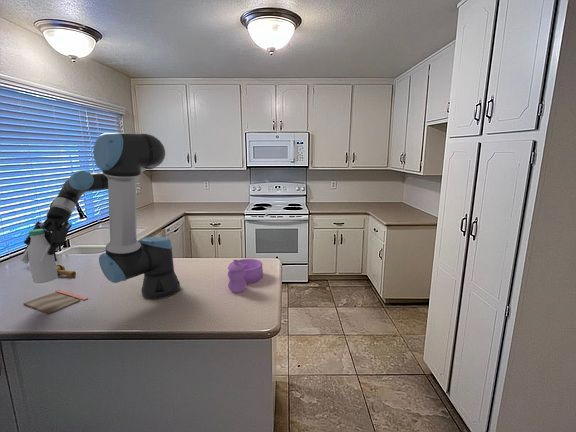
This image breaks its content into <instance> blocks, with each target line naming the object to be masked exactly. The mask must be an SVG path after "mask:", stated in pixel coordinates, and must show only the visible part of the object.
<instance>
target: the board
mask: <svg viewBox="0 0 576 432" xmlns="http://www.w3.org/2000/svg"><path fill="white" fill-rule="evenodd" d="M79 302H81V300H80V299H77V298H74V297H70V296H67V295H64V294H61V293H57V292H55V291H53V292H50V293H48V294H45V295H43V296H40V297H37V298H35V299H32V300H28V301H26V302H23V305H24V306H26V307H29V308H31V307H32V309H34V308H35V309H34V310H37V311H40V312H43V313H46V314H48V313H49V314H48V315H51V314H54V313H56V312H58V311H61V310H63V309H65V308H68V307H70V306H72V305H74V304H78V303H79ZM53 312H54V313H53Z"/></svg>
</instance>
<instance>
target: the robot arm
mask: <svg viewBox="0 0 576 432" xmlns="http://www.w3.org/2000/svg"><path fill="white" fill-rule="evenodd" d="M165 158H166V148H165V147H164V144H163V143H162V142H161V140H160V139H158V137H156V136H154V135H151V134H148V133H131V132H130V133H129V132H127V133H126V132H108V133H107V132H105V133H102V134H100V135H98V137H97V138H96V140H95V143H94V146H93V159H94V162H95V165H96V167H97V168H98V170H99V169H100V170H101V171H102V172H100V171H99V172H89V171H87V170H85V169H82V170H81V169H80V170H76V171H75V172H74V173H72V174H71V175H70V177H68V178H67V179H66V180H65V181H64V183H63V184H62V187H61V189H60V191H59V193H58V195H57V196H56V197H55V199H54V201H53V202H52V204H51V207H50V208H49V209H48V212H47V214H46V219H45V220H44V221H43V222H40V221H37V222H36V223H35V226H34V228H33V229H32V230H34V229H44V232H45V235H44V236H46V234H49V233H50V232H52V238H51V243H49V244H50V245H48V246H47V248H46V250H45V252H44V254H43V256H42V258H41V259H40V261H41V262H43V263H45V264H47V263H48V261H49V259H50V257H51V255H53V254H54V252H55V253H56V249H57V248H59V247H64V245H65V241H66V239H67V237H68V233H69V230H70V228H71V227H72V226H73V225H72V223H70V222H69V220H70V218H71V216H72V214H73V212H74V210H75V209H76V206H77V205H78V203H79V200H80V199H81V197H82V196H83V195H84V194H85V193H86V192H94V191H95V192H96V191H105V190H107V191H108V195H107V196H108V214H109V215H108V218H109V219H108V220H109V242H108V243H107V244H105V253H104V252H102V254H100V255H99V257H98V263H99V267H100V270H101V271H102V274H103V275H104V277H105V278H106V279H107V280H108V281H109V282H111V283H114V284H116V283H120V282H123V281H124V282H126V281H127V280H130V279H132V278H135V277H136V278H137V277H138V276H141V275H143V282H142V286H141V289H140V290H141V295H142V296H141V297H143V298H145V299H148V300H149V299H150V300H157V299H163V298H167V297H172V296H173V295H175V294H176V293H178V292H179V291H180V290H181V282H180V280H179V279H178V277H177V275H176V272H175V268H174V267H175V265H174V256H173V246H172V241H171V240H170V238H167V237H162V236H159V237H158V236H148V237H142V238H140V240H139V241H138V239H137V236H138V235H137V179H138V178H139V177H140V176H141V174H142V172H145V171H146V170H153V169H155V168H157V167H159V166H160V165H161V164H162V163H163V162H164V160H165ZM46 230H47V231H46ZM30 242H31V237H30V235H28V236H27V237H26V238H25V240H24V241H23V243H24V245H27V246H26V247H25V249H24V251H23V255H22V256H21V257H20V259H19V261H20V262H22V263H24V264H28V263H29V258H28V248H29V245H30Z"/></svg>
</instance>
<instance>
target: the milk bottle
mask: <svg viewBox="0 0 576 432" xmlns="http://www.w3.org/2000/svg"><path fill="white" fill-rule="evenodd" d="M33 229H34V228H33ZM33 229H31V230H29V231H28V234H29V235H30V237H31V242H30V245H29V248H28V258H29V262H28V263H29V269H30V272H31V278H32V282H33V283H35V284H44V283H48V282H51V281H55V280H56V279H57V278H58V276H59V274H57V269H56V266H57V265H56V261H55V258H54V254H53V255H51V257H50V259H49V261H48V263H47V264H45V263H43V262H41V261H40V259H41V258H42V256H43V254H44V252H45V250H46V248H47V246H48V245H50V244H49V243H48V241H47V240H46V239H45V236H44V235H45V232H44V229H34V230H33ZM29 235H28V236H29Z"/></svg>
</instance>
